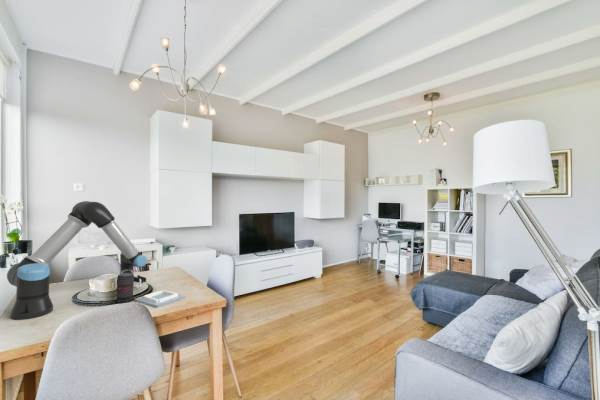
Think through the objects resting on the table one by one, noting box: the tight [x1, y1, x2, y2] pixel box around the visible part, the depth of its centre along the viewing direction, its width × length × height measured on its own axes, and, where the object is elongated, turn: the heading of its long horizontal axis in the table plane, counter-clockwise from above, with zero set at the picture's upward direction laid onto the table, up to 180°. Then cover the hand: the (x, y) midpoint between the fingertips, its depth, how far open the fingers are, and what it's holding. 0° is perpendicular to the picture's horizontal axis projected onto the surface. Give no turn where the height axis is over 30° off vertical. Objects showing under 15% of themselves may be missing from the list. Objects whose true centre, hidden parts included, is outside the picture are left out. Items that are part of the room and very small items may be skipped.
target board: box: [134, 289, 186, 309], centre depth 162 cm, size 20×18×3 cm
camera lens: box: [116, 272, 135, 304], centre depth 158 cm, size 8×8×15 cm
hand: (126, 285), depth 161 cm, fingers open, 13 cm apart
